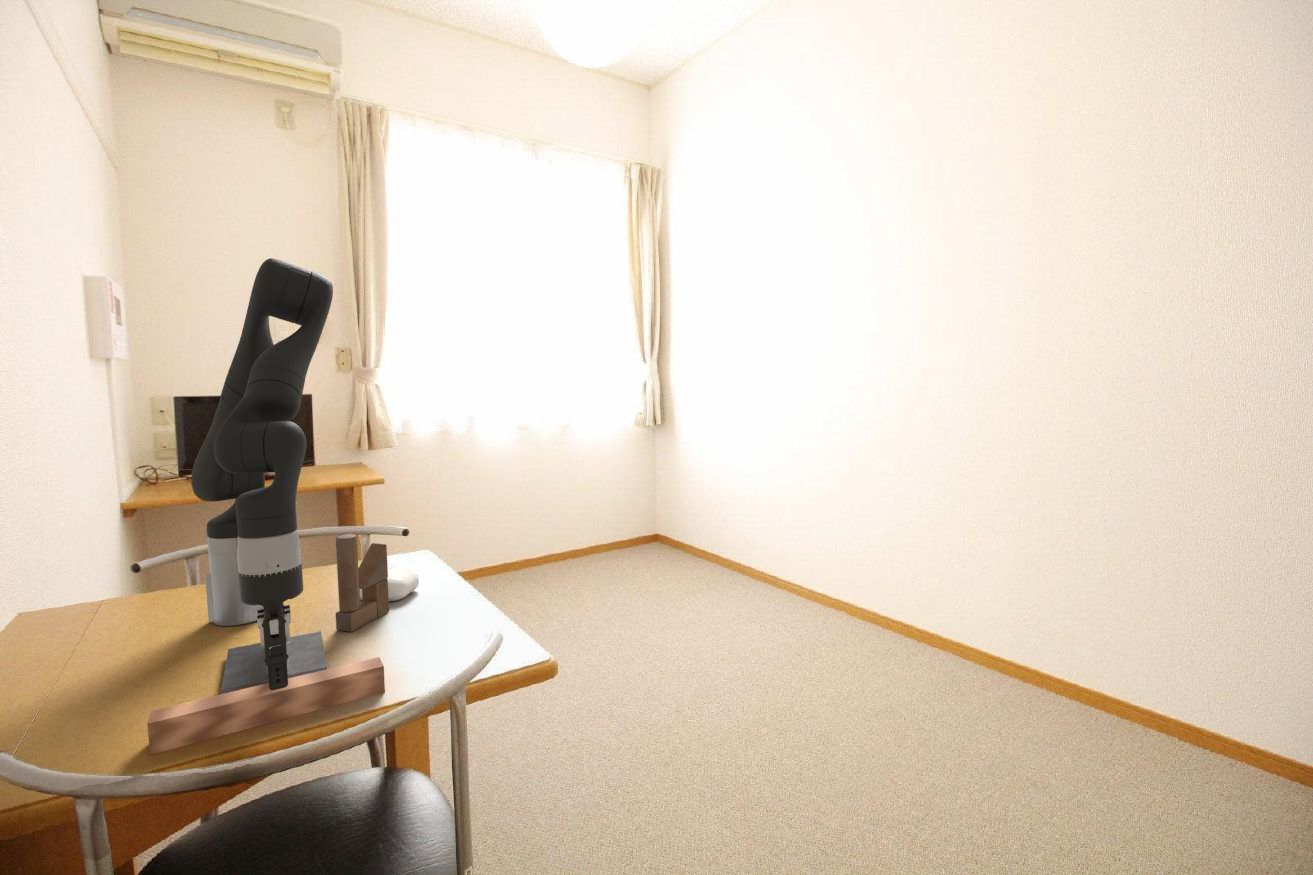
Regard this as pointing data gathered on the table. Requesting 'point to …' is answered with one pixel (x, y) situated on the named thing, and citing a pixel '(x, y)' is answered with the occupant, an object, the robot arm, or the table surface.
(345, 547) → the brown wooden block stack
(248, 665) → the stand
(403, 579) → the earbud case
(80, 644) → the table surface
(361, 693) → the bar
